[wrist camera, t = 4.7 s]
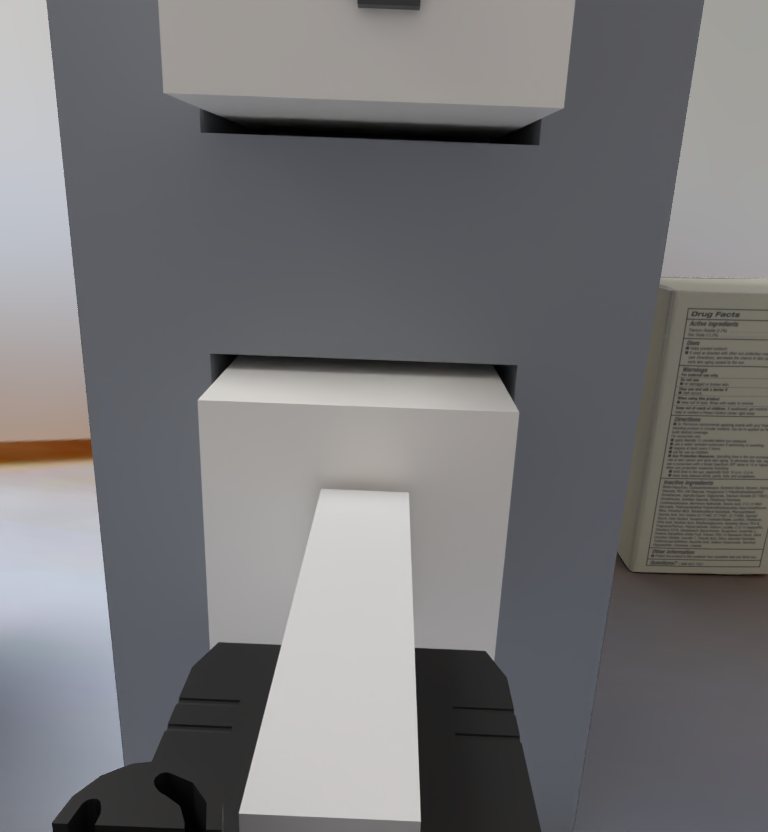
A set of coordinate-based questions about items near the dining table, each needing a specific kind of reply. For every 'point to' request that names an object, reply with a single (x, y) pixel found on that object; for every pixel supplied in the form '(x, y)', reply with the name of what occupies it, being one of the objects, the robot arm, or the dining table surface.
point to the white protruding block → (370, 63)
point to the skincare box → (702, 433)
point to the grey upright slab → (373, 321)
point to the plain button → (356, 484)
